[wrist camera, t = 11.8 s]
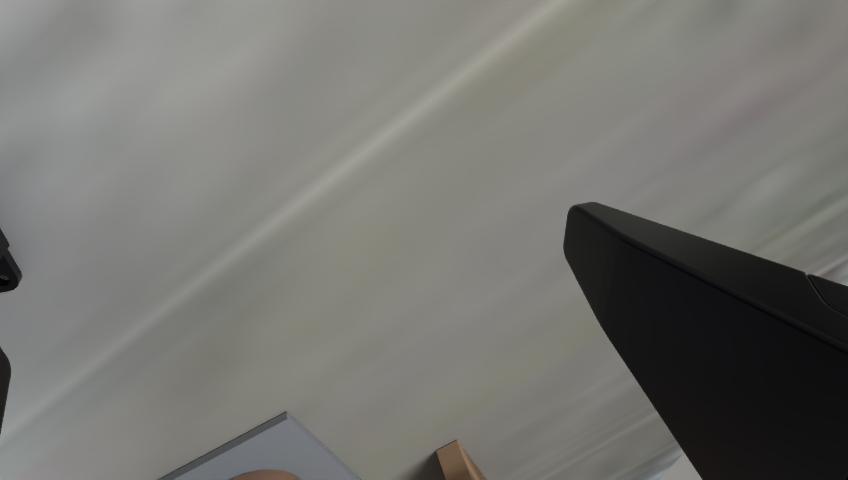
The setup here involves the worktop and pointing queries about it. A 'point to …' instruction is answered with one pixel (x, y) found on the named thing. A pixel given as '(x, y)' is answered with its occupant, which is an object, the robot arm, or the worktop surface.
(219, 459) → the mat
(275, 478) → the tan rounded upright piece
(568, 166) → the worktop surface
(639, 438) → the worktop surface
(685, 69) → the worktop surface
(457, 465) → the cradle
